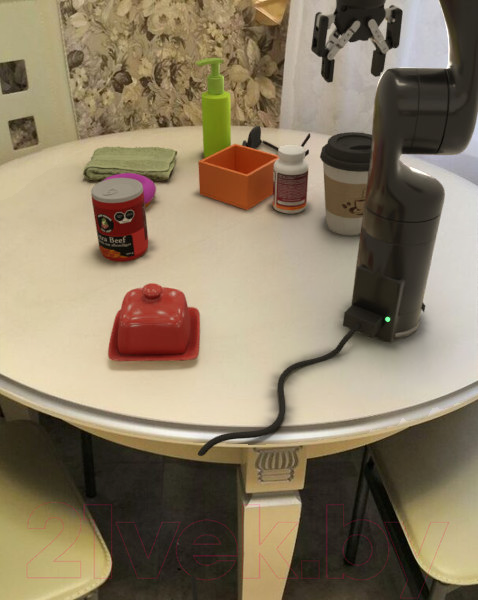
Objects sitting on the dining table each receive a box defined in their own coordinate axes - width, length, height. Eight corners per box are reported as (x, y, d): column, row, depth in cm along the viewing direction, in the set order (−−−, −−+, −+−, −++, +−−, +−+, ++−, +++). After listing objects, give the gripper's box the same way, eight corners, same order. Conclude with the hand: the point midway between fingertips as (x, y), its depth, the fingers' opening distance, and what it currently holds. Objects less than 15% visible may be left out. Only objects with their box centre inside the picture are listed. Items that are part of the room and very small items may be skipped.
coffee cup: (329, 245, 101) (337, 159, 93) (305, 215, 110) (310, 133, 102) (392, 236, 104) (406, 151, 95) (363, 207, 113) (373, 126, 104)
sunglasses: (303, 179, 123) (305, 155, 120) (233, 172, 126) (233, 148, 123) (317, 149, 136) (318, 126, 133) (253, 143, 139) (253, 121, 136)
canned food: (90, 255, 99) (79, 192, 92) (120, 234, 104) (112, 173, 98) (129, 267, 96) (121, 203, 89) (158, 244, 102) (152, 182, 95)
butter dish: (201, 313, 86) (198, 260, 81) (199, 368, 77) (196, 312, 72) (118, 314, 86) (110, 262, 81) (106, 370, 76) (97, 314, 71)
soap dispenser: (195, 153, 134) (190, 57, 122) (224, 148, 136) (222, 53, 125) (205, 163, 129) (202, 64, 118) (235, 158, 132) (234, 60, 120)
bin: (247, 210, 112) (247, 176, 108) (199, 194, 117) (198, 161, 113) (281, 189, 119) (282, 156, 115) (234, 174, 125) (234, 143, 121)
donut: (149, 216, 110) (147, 192, 107) (93, 213, 111) (90, 189, 108) (161, 191, 118) (159, 169, 116) (109, 189, 119) (106, 166, 117)
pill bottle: (313, 209, 112) (317, 151, 106) (285, 218, 109) (288, 158, 103) (292, 196, 116) (295, 140, 110) (265, 204, 114) (267, 147, 107)
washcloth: (171, 183, 121) (170, 168, 119) (82, 183, 121) (79, 167, 120) (178, 158, 132) (177, 143, 130) (96, 157, 132) (94, 143, 130)
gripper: (330, -22, 87) (321, 91, 97) (420, -30, 90) (401, 81, 100) (309, -34, 92) (303, 75, 103) (395, -41, 95) (380, 65, 106)
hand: (351, 77), depth 101 cm, fingers open, 8 cm apart
